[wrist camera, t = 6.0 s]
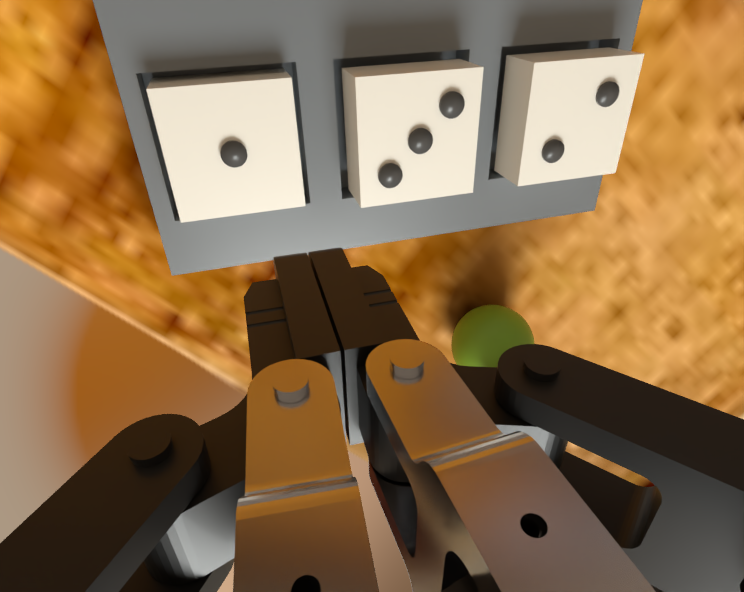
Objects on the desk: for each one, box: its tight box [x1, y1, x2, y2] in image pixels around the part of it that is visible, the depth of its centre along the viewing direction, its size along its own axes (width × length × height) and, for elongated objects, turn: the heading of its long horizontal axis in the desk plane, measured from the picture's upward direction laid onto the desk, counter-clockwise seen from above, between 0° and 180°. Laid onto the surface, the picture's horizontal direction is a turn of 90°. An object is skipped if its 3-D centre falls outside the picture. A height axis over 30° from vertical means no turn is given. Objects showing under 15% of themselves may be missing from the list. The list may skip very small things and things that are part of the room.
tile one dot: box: [146, 68, 306, 223], centre depth 22 cm, size 6×6×3 cm
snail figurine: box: [452, 305, 534, 367], centre depth 31 cm, size 5×6×12 cm
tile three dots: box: [342, 59, 484, 208], centre depth 23 cm, size 6×6×3 cm
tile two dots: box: [494, 47, 644, 186], centre depth 25 cm, size 6×6×3 cm
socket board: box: [93, 0, 643, 275], centre depth 25 cm, size 12×24×3 cm, turn 92°
